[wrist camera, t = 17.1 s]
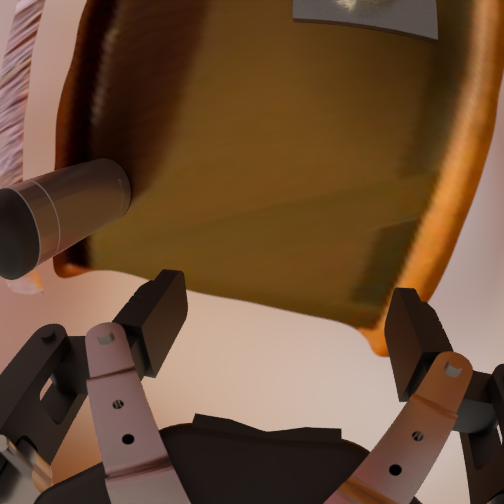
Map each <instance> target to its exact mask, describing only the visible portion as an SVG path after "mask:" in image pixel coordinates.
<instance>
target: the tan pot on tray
mask: <svg viewBox="0 0 504 504" xmlns="http://www.w3.org/2000/svg"><path fill="white" fill-rule="evenodd" d="M293 21H294V22H305V23H320V24H332V25H342V26H350V27H358V28H365V29H372V30H378V31H384V32H389V33H394V34H399V35H404V36H409V37H413V38H418V39H422V40H426V41H430V42H436V41H437V40H438V24H437V8H436V0H293Z"/></svg>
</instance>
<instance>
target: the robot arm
mask: <svg viewBox="0 0 504 504" xmlns="http://www.w3.org/2000/svg"><path fill="white" fill-rule="evenodd" d="M130 200H131V187H130V183H129V179H128V177H127V175H126V173H125V171H124V170H123V169H122V167H121V166H120V165H119V164H118V163H116V162H115V161H113V160H111V159H107V158H100V159H96V160H93V161H89V162H85V163H81V164H77V165H74V166H70V167H67V168H63V169H60V170H57V171H53V172H50V173H47V174H44V175H40V176H37V177H35V178H31V179H28V180H25V181H23V182H20V183H17V184H14V185H11V186H8V187H6V188H3V189H0V276H2V277H3V278H5V279H8V280H15V279H18V278H20V277H22V276H24V275H25V274H27V273H28V272H30V271H31V270H33V269H35V268H36V267H38V266H39V265H41V264H42V263H44V262H46V261H47V260H49V259H50V258H52V257H53V256H55V255H57V254H58V253H60V252H62V251H63V250H65V249H67V248H68V247H70V246H72V245H73V244H75V243H77V242H78V241H80V240H82V239H83V238H85V237H87V236H89V235H90V234H92V233H94V232H96V231H97V230H99V229H101V228H103V227H105V226H107V225H108V224H110V223H112V222H114V221H116V220H117V219H119V218H121V217H122V216H123V215H124V214H125V212H126V211H127V209H128V207H129V205H130ZM187 312H188V302H187V294H186V286H185V278H184V273H183V272H182V271H177V270H167V269H163V270H162V271H161V272H160V274H159V275H158V276H157V277H156V279H155V280H154V281H152V280H150V281H148V282H147V283H145V284H143V285H142V286H140V287H139V288H138V290H137V291H136V292H135V293H134V296H132V297H131V298H130V299H129V302H127V303H126V305H125V306H124V307H123V308H122V309H121V311H120V312H119V313H118V315H117V316H116V317H115V318H114V320H113V321H112V322H108V323H101V324H98V325H96V326H94V327H93V328H91V329H90V330H89V331H88V332H87V334H86V336H68V335H67V333H66V330H65V328H64V327H63V326H61V325H59V324H48V325H45V326H43V327H41V328H39V329H38V330H37V331H36V332H35V333H34V334H33V335H32V336H31V338H30V339H29V340H28V341H27V342H26V344H25V345H24V346H23V347H22V348H21V350H20V351H19V352H18V353H17V354H16V356H15V357H14V358H13V359H12V361H11V362H10V363H9V364H8V366H7V367H6V368H5V370H4V371H3V372H2V373H1V375H0V504H422V503H421V502H420V501H419V500H418V499H417V498H416V497H415V494H416V493H417V491H418V490H419V488H420V486H421V485H422V483H423V482H424V480H425V478H426V476H427V475H428V473H429V472H430V470H431V468H432V466H433V464H434V463H435V461H436V459H437V457H438V456H439V454H440V452H441V450H442V448H443V446H444V444H445V442H446V440H447V438H448V436H449V434H450V432H451V430H453V431H458V432H459V433H460V438H461V443H462V449H463V454H464V460H465V466H466V472H467V479H468V487H469V495H470V504H504V364H500V365H498V366H497V367H496V368H495V370H494V371H493V373H492V374H487V373H482V372H477V371H474V370H473V367H472V365H471V363H470V362H469V360H468V359H467V358H466V357H464V356H463V355H461V354H459V353H456V352H454V351H453V349H452V346H451V344H450V342H449V340H448V337H447V335H446V333H445V331H444V329H443V328H442V324H441V322H440V321H439V318H438V316H437V314H436V312H435V310H434V309H433V308H432V307H431V306H430V305H429V304H428V303H427V302H421V300H420V298H419V296H418V294H417V292H416V290H415V289H414V288H395V290H394V292H393V295H392V299H391V303H390V307H389V310H388V314H387V318H386V321H385V329H384V333H385V339H386V344H387V348H388V352H389V356H390V360H391V365H392V369H393V374H394V378H395V383H396V387H397V393H398V398H399V402H407V403H406V405H405V406H404V408H403V409H402V411H401V412H400V414H399V415H398V416H397V418H396V419H395V421H394V422H393V424H392V425H391V426H390V428H389V429H388V430H387V432H386V433H385V434H384V436H383V437H382V438H381V440H380V441H379V442H378V444H377V445H376V446H375V447H374V449H373V450H372V451H371V452H369V451H368V450H367V449H365V448H364V447H362V446H360V445H358V444H356V443H353V442H350V441H348V440H344V439H342V438H341V429H335V428H311V427H304V428H296V429H289V430H281V431H271V432H266V431H262V430H259V429H256V428H253V427H250V426H247V425H245V424H242V423H239V422H236V421H233V420H231V419H225V418H219V417H213V416H207V415H202V414H195V416H194V419H193V422H192V423H184V424H177V425H173V426H169V427H166V428H163V429H161V430H158V427H157V425H156V422H155V420H154V417H153V414H152V412H151V409H150V407H149V404H148V402H147V398H146V396H145V392H144V390H143V387H142V384H141V381H142V379H143V377H144V376H148V377H152V378H156V376H157V374H158V372H159V370H160V368H161V366H162V364H163V362H164V360H165V358H166V356H167V354H168V352H169V350H170V348H171V346H172V345H173V343H174V341H175V339H176V337H177V335H178V333H179V331H180V329H181V327H182V325H183V324H184V322H185V320H186V317H187ZM49 377H50V379H51V380H52V382H53V383H52V384H51V386H50V387H49V389H48V390H47V392H46V393H45V395H44V396H43V398H42V400H41V401H40V392H41V390H42V388H43V386H44V385H45V383H46V382H47V380H48V379H49ZM87 395H89V401H90V407H91V412H92V417H93V422H94V427H95V432H96V436H97V441H98V445H99V449H100V453H101V457H102V462H100V463H98V464H96V465H94V466H92V467H90V468H88V469H87V470H84V471H82V472H80V473H78V474H76V475H74V476H72V477H70V478H68V479H66V480H64V481H62V482H59V483H57V484H55V485H53V483H52V482H51V480H52V471H51V468H50V465H51V463H52V461H53V459H54V457H55V455H56V453H57V451H58V449H59V447H60V445H61V443H62V441H63V439H64V437H65V436H66V434H67V432H68V430H69V428H70V426H71V424H72V422H73V420H74V419H75V417H76V415H77V413H78V411H79V409H80V407H81V406H82V404H83V402H84V400H85V399H86V397H87ZM498 424H499V427H500V431H501V434H502V445H501V441H500V437H499V434H498V430H497V426H498Z"/></svg>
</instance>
